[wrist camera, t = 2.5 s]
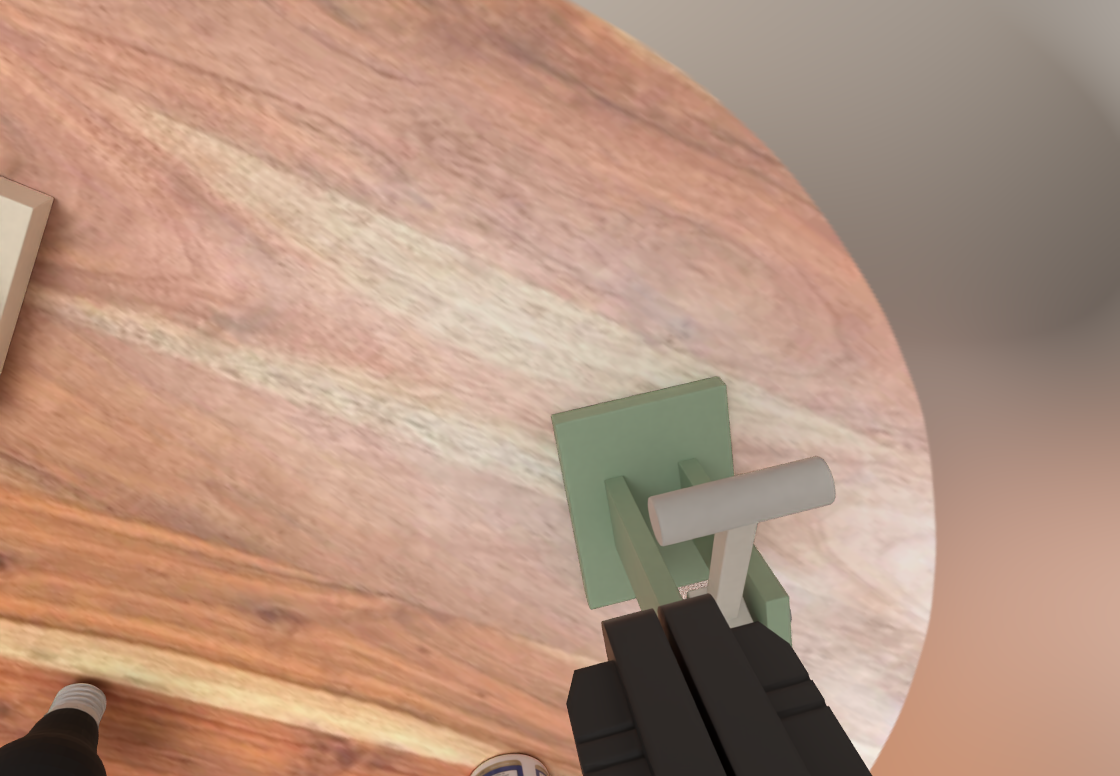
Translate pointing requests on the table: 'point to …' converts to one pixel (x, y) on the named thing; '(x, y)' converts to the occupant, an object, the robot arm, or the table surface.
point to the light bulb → (60, 738)
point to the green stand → (647, 470)
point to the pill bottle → (511, 766)
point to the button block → (18, 250)
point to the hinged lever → (738, 520)
